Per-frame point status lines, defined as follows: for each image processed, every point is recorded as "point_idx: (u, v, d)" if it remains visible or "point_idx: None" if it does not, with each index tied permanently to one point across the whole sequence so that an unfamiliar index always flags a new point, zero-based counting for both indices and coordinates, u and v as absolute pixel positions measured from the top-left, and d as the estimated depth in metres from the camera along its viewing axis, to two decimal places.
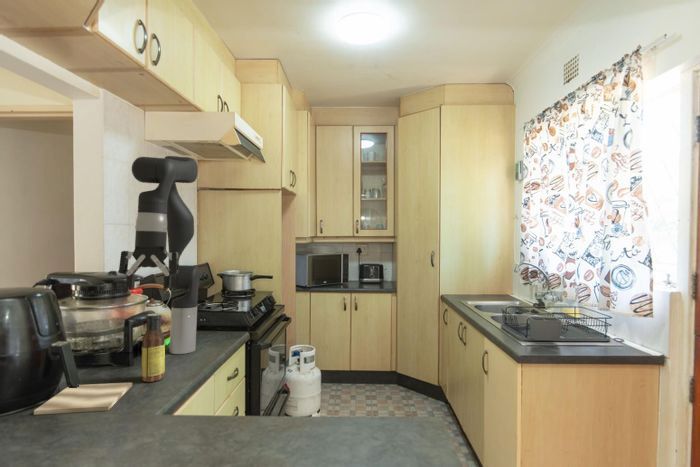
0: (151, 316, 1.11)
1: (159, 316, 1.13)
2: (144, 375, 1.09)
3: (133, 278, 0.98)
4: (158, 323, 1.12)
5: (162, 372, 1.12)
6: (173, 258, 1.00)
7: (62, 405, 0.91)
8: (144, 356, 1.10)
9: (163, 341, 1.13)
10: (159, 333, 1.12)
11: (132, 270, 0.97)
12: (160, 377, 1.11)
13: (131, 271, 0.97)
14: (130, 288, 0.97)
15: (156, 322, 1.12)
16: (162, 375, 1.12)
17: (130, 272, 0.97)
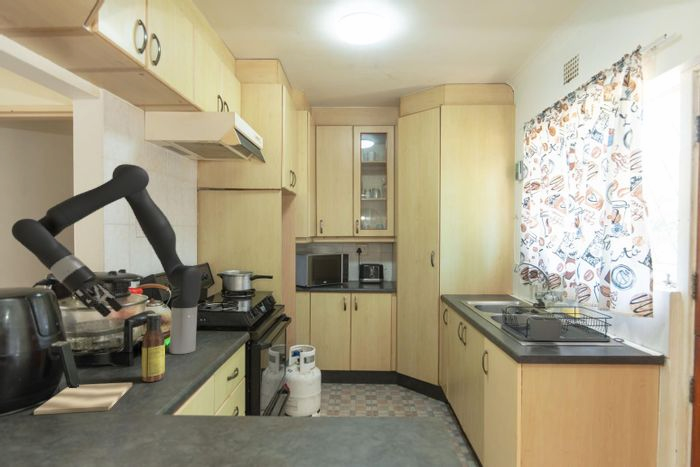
0: (151, 316, 1.11)
1: (159, 316, 1.13)
2: (144, 375, 1.09)
3: (112, 303, 1.14)
4: (158, 323, 1.12)
5: (162, 372, 1.12)
6: None
7: (62, 405, 0.91)
8: (144, 356, 1.10)
9: (163, 341, 1.13)
10: (159, 333, 1.12)
11: None
12: (160, 377, 1.11)
13: None
14: None
15: (156, 322, 1.12)
16: (162, 375, 1.12)
17: None
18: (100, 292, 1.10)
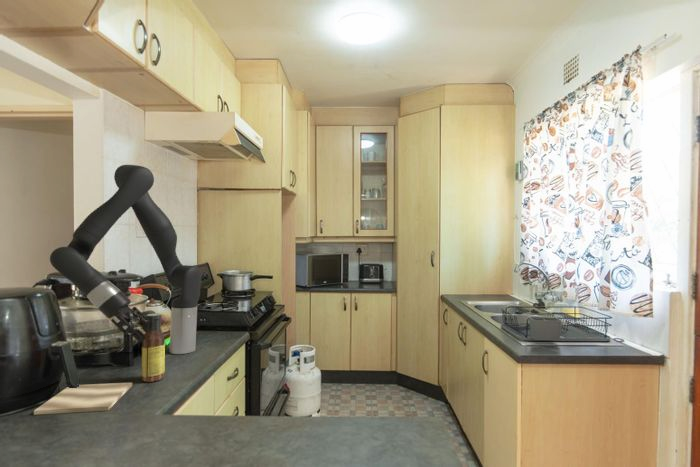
0: (151, 316, 1.11)
1: (159, 316, 1.13)
2: (144, 375, 1.09)
3: (145, 327, 1.16)
4: (158, 323, 1.12)
5: (162, 372, 1.12)
6: None
7: (62, 405, 0.91)
8: (144, 356, 1.10)
9: (163, 341, 1.13)
10: (159, 333, 1.12)
11: None
12: (160, 377, 1.11)
13: None
14: None
15: (156, 322, 1.12)
16: (162, 375, 1.12)
17: None
18: (134, 317, 1.12)
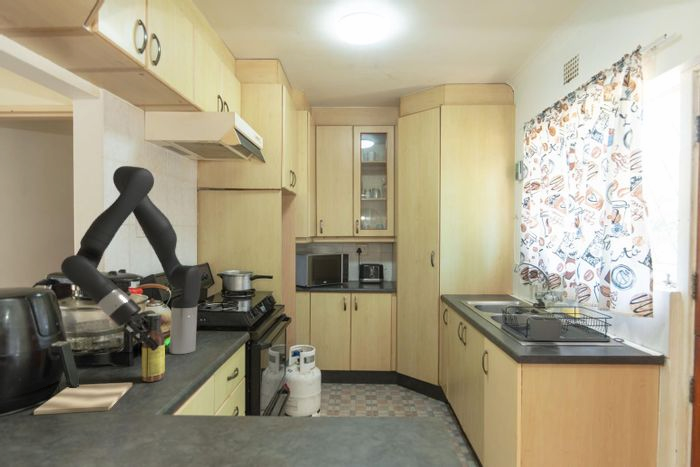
0: (151, 316, 1.11)
1: (159, 316, 1.12)
2: (144, 375, 1.09)
3: None
4: (158, 323, 1.12)
5: (162, 372, 1.12)
6: None
7: (62, 405, 0.91)
8: (144, 356, 1.10)
9: (163, 341, 1.13)
10: (159, 333, 1.12)
11: None
12: (160, 377, 1.11)
13: None
14: None
15: (156, 322, 1.12)
16: (162, 375, 1.12)
17: None
18: (144, 324, 1.12)
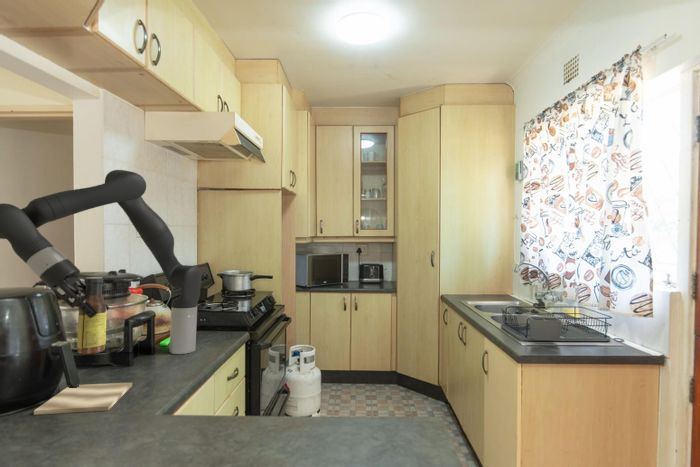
0: (90, 279, 0.96)
1: (100, 279, 0.98)
2: (79, 346, 0.95)
3: None
4: (98, 287, 0.98)
5: (102, 344, 0.97)
6: None
7: (62, 405, 0.91)
8: (79, 324, 0.95)
9: (104, 309, 0.98)
10: (99, 299, 0.97)
11: None
12: (99, 349, 0.97)
13: None
14: None
15: (96, 287, 0.97)
16: (102, 347, 0.97)
17: None
18: (82, 289, 0.98)
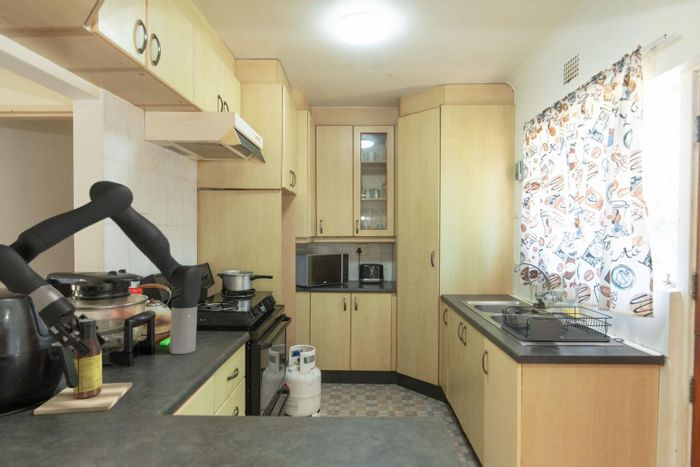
0: (83, 322, 0.96)
1: (93, 322, 0.97)
2: (75, 391, 0.94)
3: None
4: (92, 330, 0.97)
5: (98, 386, 0.97)
6: None
7: (62, 405, 0.91)
8: None
9: (99, 351, 0.98)
10: (93, 341, 0.97)
11: None
12: (95, 392, 0.96)
13: None
14: None
15: (90, 329, 0.97)
16: (98, 390, 0.97)
17: None
18: None
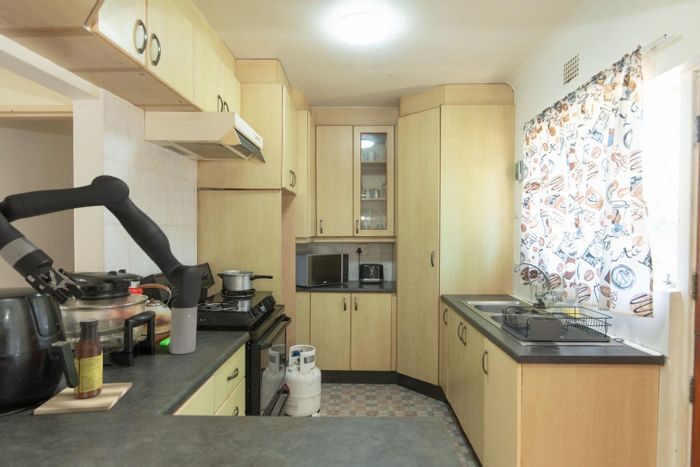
0: (85, 322, 0.96)
1: (95, 322, 0.97)
2: (75, 391, 0.94)
3: (73, 289, 1.04)
4: (94, 330, 0.97)
5: (98, 387, 0.97)
6: None
7: (62, 405, 0.91)
8: None
9: (100, 351, 0.98)
10: (95, 342, 0.97)
11: None
12: (95, 393, 0.96)
13: None
14: None
15: (92, 329, 0.97)
16: (98, 390, 0.97)
17: None
18: (57, 278, 1.01)
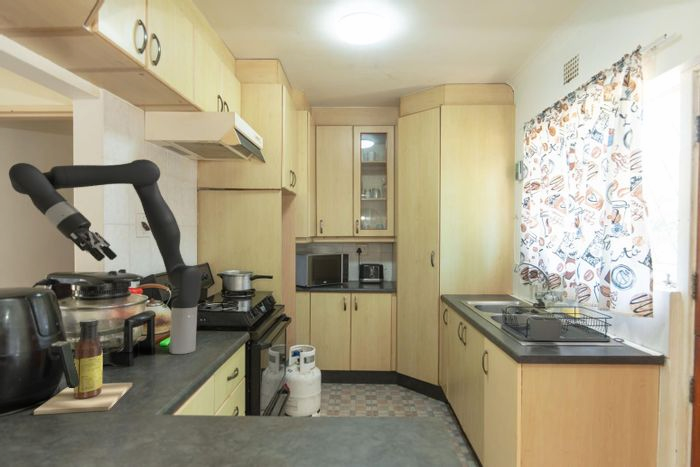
0: (85, 322, 0.96)
1: (95, 322, 0.97)
2: (75, 391, 0.94)
3: (106, 251, 1.16)
4: (94, 330, 0.97)
5: (98, 387, 0.97)
6: None
7: (62, 405, 0.91)
8: None
9: (100, 351, 0.98)
10: (95, 342, 0.97)
11: None
12: (95, 393, 0.96)
13: None
14: None
15: (92, 330, 0.97)
16: (98, 390, 0.97)
17: None
18: (94, 239, 1.12)
